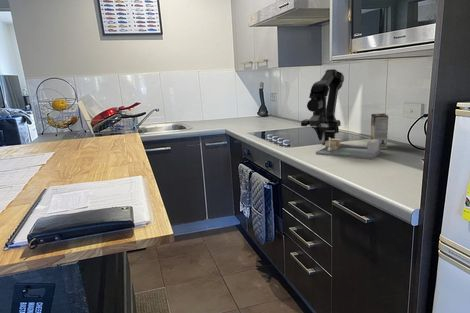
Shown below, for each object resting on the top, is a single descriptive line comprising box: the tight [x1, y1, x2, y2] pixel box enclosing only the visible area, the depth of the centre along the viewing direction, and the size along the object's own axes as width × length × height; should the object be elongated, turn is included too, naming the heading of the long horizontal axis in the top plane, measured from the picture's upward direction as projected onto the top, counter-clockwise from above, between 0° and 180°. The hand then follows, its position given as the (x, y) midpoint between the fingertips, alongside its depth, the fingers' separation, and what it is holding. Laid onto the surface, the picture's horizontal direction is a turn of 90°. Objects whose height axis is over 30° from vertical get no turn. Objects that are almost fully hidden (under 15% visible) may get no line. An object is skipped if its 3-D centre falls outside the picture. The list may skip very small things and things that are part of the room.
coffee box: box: [370, 112, 389, 150], centre depth 164 cm, size 9×6×16 cm
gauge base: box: [315, 139, 382, 160], centre depth 157 cm, size 15×26×6 cm, turn 53°
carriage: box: [324, 138, 341, 150], centre depth 162 cm, size 12×5×4 cm, turn 143°
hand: (320, 140), depth 167 cm, fingers closed
